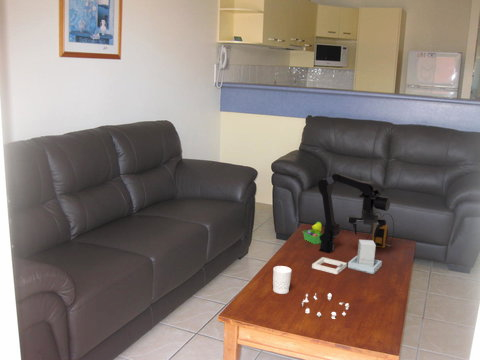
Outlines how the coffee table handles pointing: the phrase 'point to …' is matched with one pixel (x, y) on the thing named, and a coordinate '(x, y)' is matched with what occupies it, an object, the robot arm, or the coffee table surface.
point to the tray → (353, 265)
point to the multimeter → (381, 235)
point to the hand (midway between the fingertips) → (364, 236)
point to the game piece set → (328, 299)
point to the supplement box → (366, 252)
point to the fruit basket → (313, 234)
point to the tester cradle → (331, 270)
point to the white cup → (281, 279)
